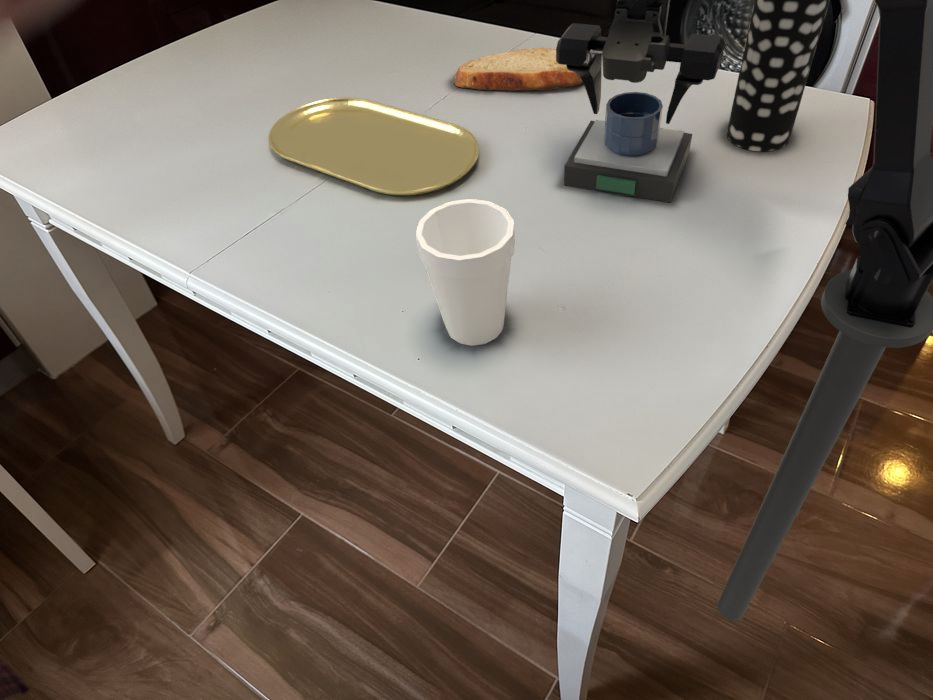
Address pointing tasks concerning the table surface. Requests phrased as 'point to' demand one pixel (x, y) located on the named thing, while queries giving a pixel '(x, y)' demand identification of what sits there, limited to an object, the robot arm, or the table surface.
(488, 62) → the bread slice
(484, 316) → the foam cup
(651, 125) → the small blue cup
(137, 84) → the table surface
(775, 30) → the white-spotted black cylinder
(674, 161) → the scale
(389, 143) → the serving platter
